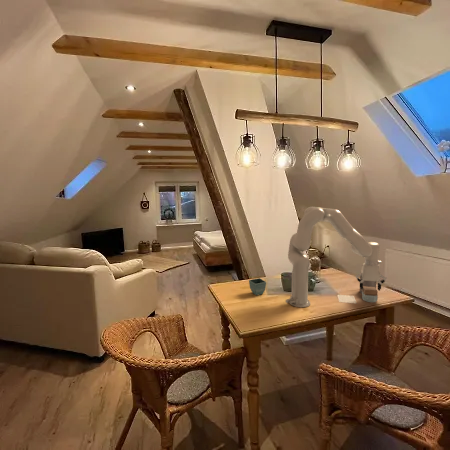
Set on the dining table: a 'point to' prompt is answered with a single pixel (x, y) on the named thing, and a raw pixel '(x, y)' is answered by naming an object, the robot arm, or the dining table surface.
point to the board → (370, 291)
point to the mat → (346, 299)
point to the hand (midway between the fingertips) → (370, 289)
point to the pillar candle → (368, 284)
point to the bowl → (369, 298)
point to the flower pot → (257, 286)
